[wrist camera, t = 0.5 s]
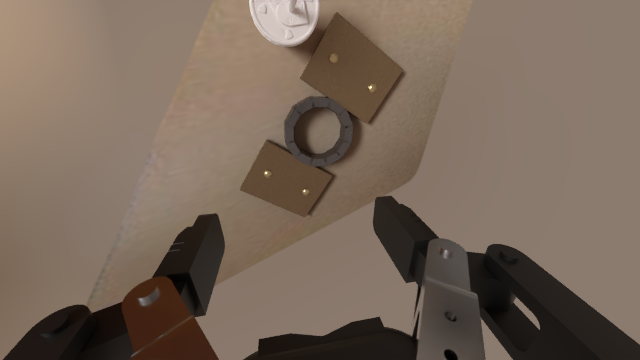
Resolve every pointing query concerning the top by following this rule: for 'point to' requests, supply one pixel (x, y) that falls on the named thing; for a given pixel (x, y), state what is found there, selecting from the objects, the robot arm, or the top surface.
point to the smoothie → (285, 20)
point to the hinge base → (341, 96)
